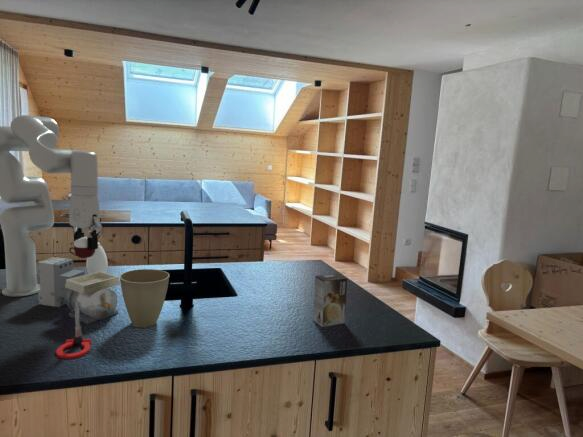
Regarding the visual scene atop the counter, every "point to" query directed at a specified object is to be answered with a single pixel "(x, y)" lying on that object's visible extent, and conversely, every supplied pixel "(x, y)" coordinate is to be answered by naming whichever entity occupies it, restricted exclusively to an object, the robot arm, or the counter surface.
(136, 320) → the plant pot
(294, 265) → the counter surface
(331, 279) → the coffee box
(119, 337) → the counter surface
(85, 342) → the tow hook
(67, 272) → the circuit breaker
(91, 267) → the sauce bottle
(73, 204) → the robot arm
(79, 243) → the cocoa
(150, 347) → the counter surface
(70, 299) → the clear storage container
